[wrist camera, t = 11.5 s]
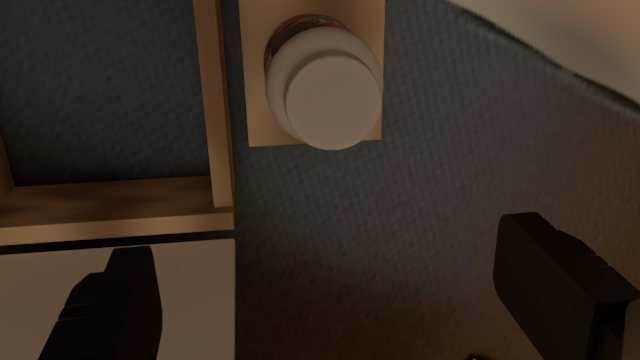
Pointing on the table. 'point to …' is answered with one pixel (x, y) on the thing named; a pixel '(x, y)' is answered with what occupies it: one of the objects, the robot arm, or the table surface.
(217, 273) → the lid
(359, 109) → the pill bottle
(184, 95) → the table surface
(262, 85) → the flat wooden board
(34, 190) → the open wooden box
